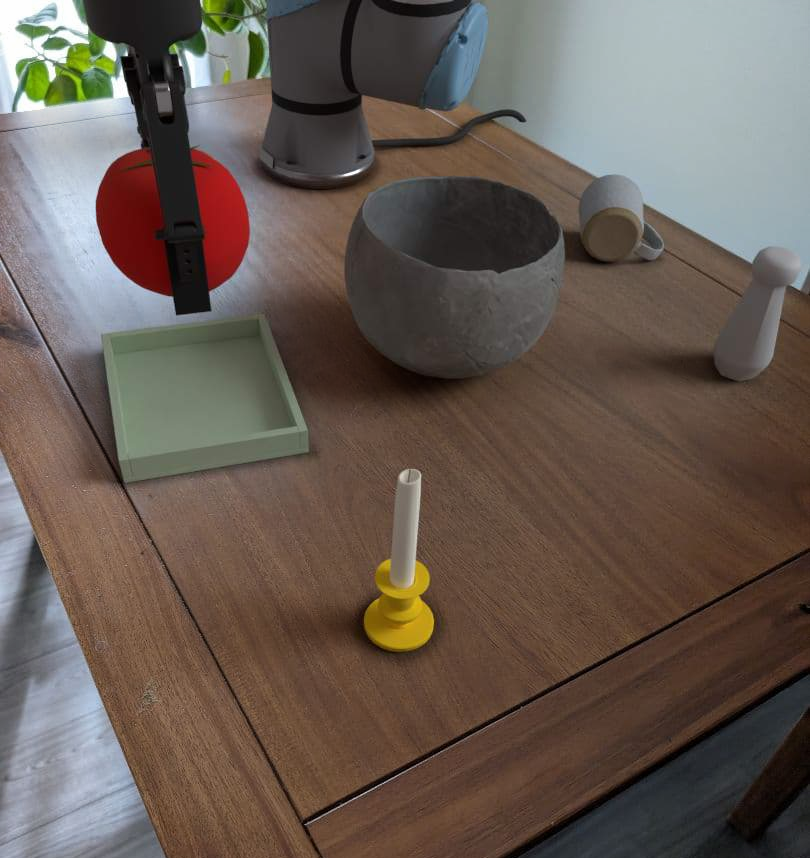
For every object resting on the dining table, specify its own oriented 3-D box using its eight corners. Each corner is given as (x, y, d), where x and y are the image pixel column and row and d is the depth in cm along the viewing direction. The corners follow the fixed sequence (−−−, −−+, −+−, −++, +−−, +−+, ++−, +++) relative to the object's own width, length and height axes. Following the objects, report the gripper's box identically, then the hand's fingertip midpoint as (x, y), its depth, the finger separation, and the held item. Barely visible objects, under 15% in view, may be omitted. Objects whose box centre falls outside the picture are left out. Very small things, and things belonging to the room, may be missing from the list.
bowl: (395, 437, 79) (404, 291, 68) (314, 321, 91) (311, 182, 80) (582, 388, 85) (618, 248, 74) (483, 286, 98) (501, 153, 87)
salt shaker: (765, 361, 90) (815, 246, 81) (762, 392, 87) (814, 275, 77) (709, 348, 91) (751, 233, 82) (704, 378, 88) (747, 261, 78)
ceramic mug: (575, 262, 102) (589, 200, 97) (572, 230, 108) (586, 169, 102) (663, 272, 102) (683, 210, 97) (656, 239, 108) (675, 179, 102)
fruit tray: (266, 335, 89) (264, 313, 87) (308, 452, 77) (307, 430, 75) (106, 356, 85) (100, 333, 83) (124, 483, 73) (118, 460, 71)
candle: (362, 651, 62) (366, 497, 51) (364, 596, 66) (369, 439, 54) (434, 653, 62) (454, 500, 51) (432, 598, 66) (451, 443, 55)
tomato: (274, 301, 70) (265, 174, 62) (130, 331, 66) (102, 199, 58) (228, 234, 77) (215, 112, 69) (96, 258, 73) (66, 131, 65)
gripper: (65, -82, 62) (121, 207, 78) (88, 24, 46) (152, 359, 62) (171, -83, 64) (205, 200, 79) (227, 19, 48) (255, 346, 64)
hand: (182, 270), depth 71 cm, fingers closed on tomato, 12 cm apart
